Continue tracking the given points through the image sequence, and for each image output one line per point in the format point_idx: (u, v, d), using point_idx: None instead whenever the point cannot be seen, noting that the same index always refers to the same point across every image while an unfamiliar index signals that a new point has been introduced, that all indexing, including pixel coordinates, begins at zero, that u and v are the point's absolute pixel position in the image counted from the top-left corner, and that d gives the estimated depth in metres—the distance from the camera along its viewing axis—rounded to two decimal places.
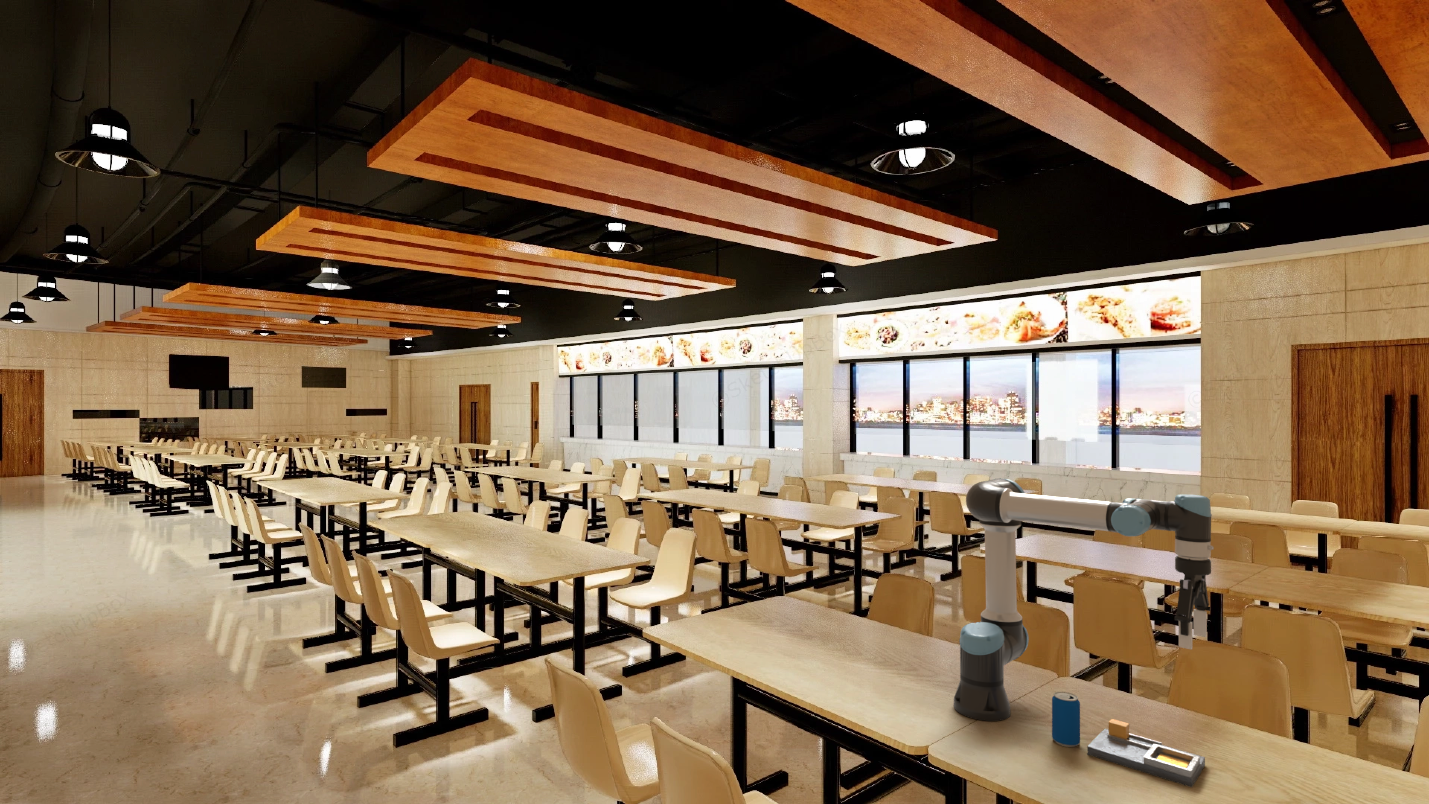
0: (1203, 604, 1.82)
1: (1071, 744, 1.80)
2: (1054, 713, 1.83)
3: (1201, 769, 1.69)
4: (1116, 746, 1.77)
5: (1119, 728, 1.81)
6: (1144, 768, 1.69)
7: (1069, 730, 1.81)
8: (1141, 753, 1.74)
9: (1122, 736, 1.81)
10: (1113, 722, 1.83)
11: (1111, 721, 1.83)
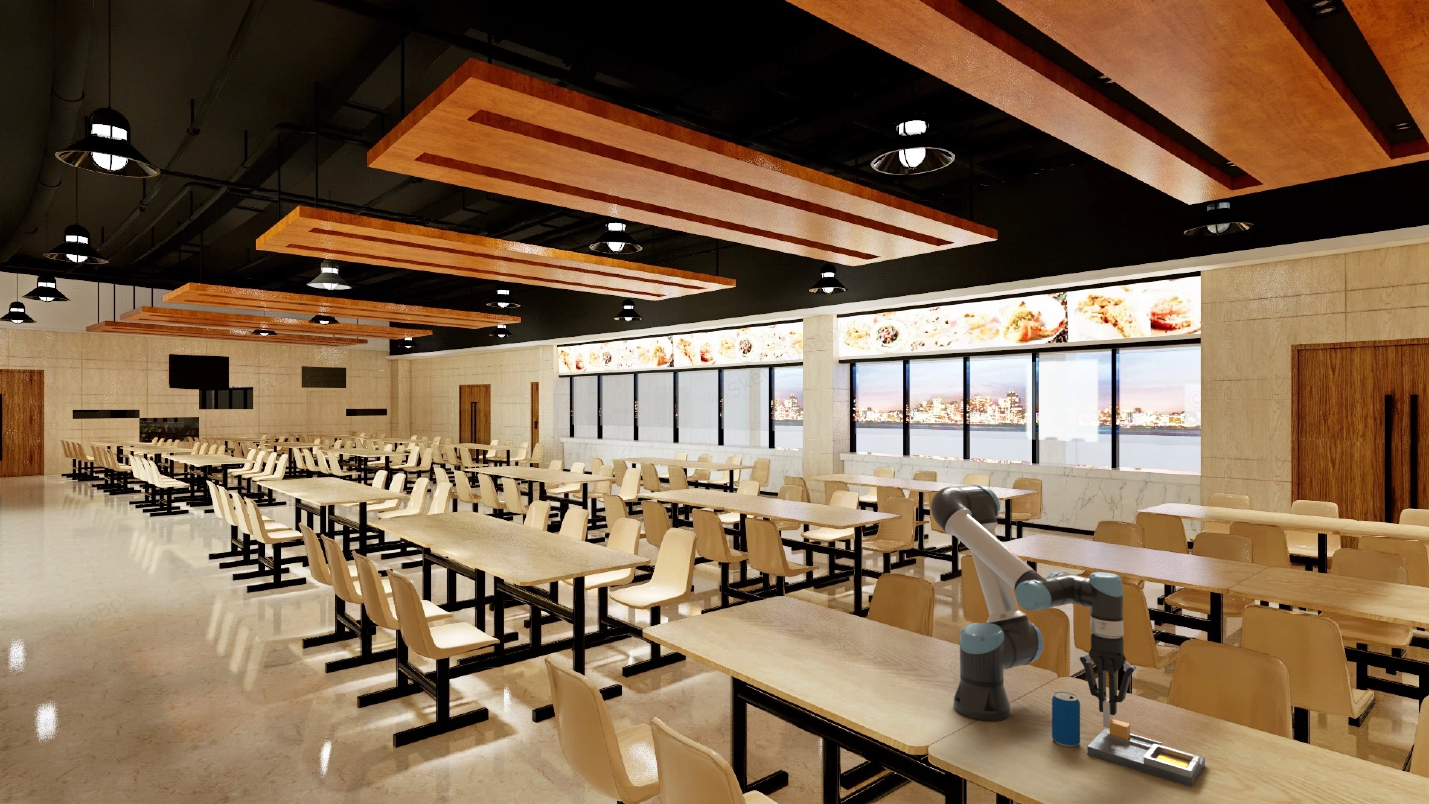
0: None
1: (1071, 744, 1.80)
2: (1054, 713, 1.83)
3: (1201, 769, 1.69)
4: (1116, 746, 1.77)
5: (1120, 728, 1.81)
6: (1144, 768, 1.69)
7: (1069, 730, 1.81)
8: (1141, 753, 1.74)
9: (1123, 736, 1.81)
10: (1115, 723, 1.82)
11: (1112, 721, 1.83)
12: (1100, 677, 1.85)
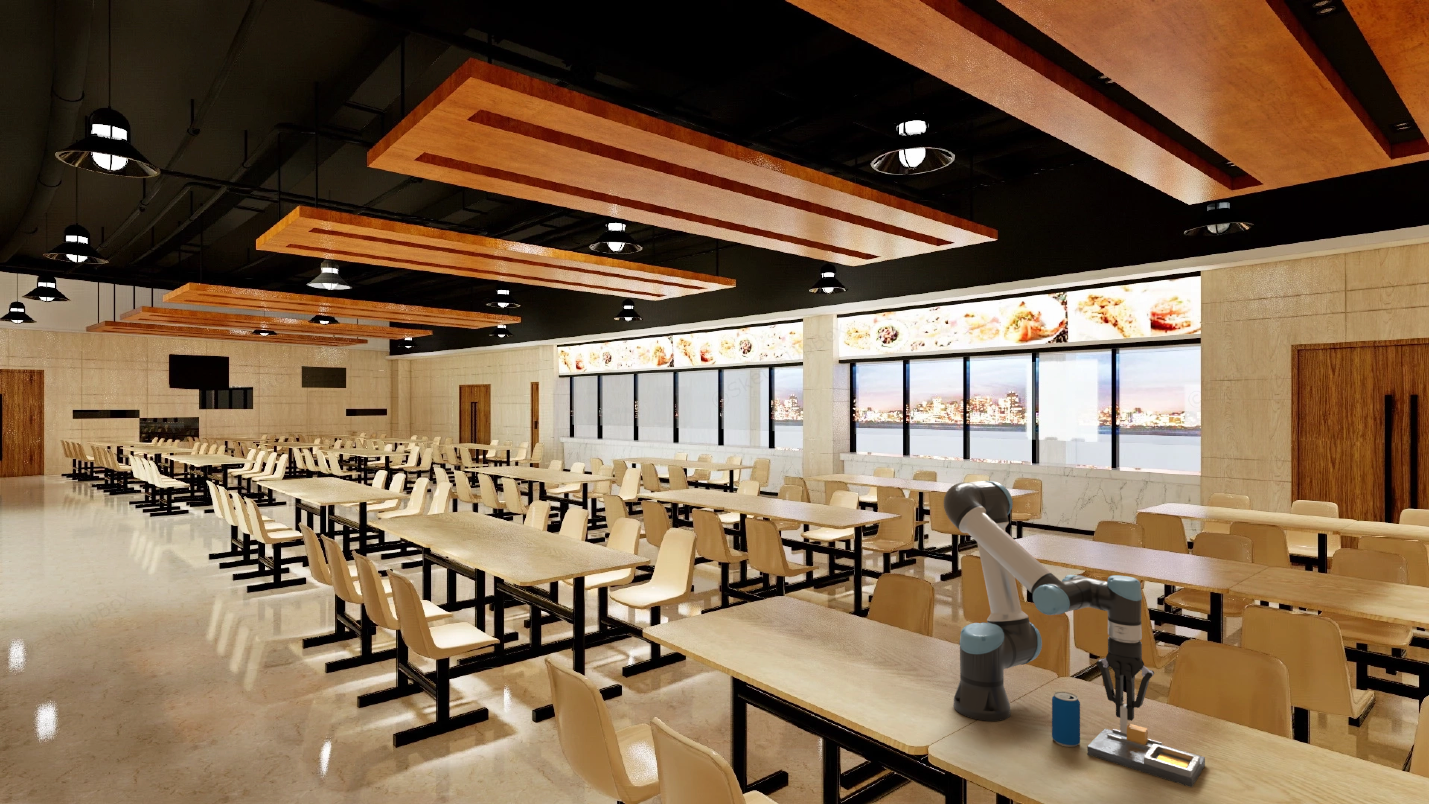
0: None
1: (1071, 744, 1.80)
2: (1054, 713, 1.83)
3: (1201, 769, 1.69)
4: (1116, 746, 1.77)
5: (1138, 733, 1.78)
6: (1144, 768, 1.69)
7: (1069, 730, 1.81)
8: (1141, 753, 1.74)
9: (1141, 741, 1.78)
10: (1132, 728, 1.80)
11: (1129, 726, 1.81)
12: (1117, 682, 1.82)
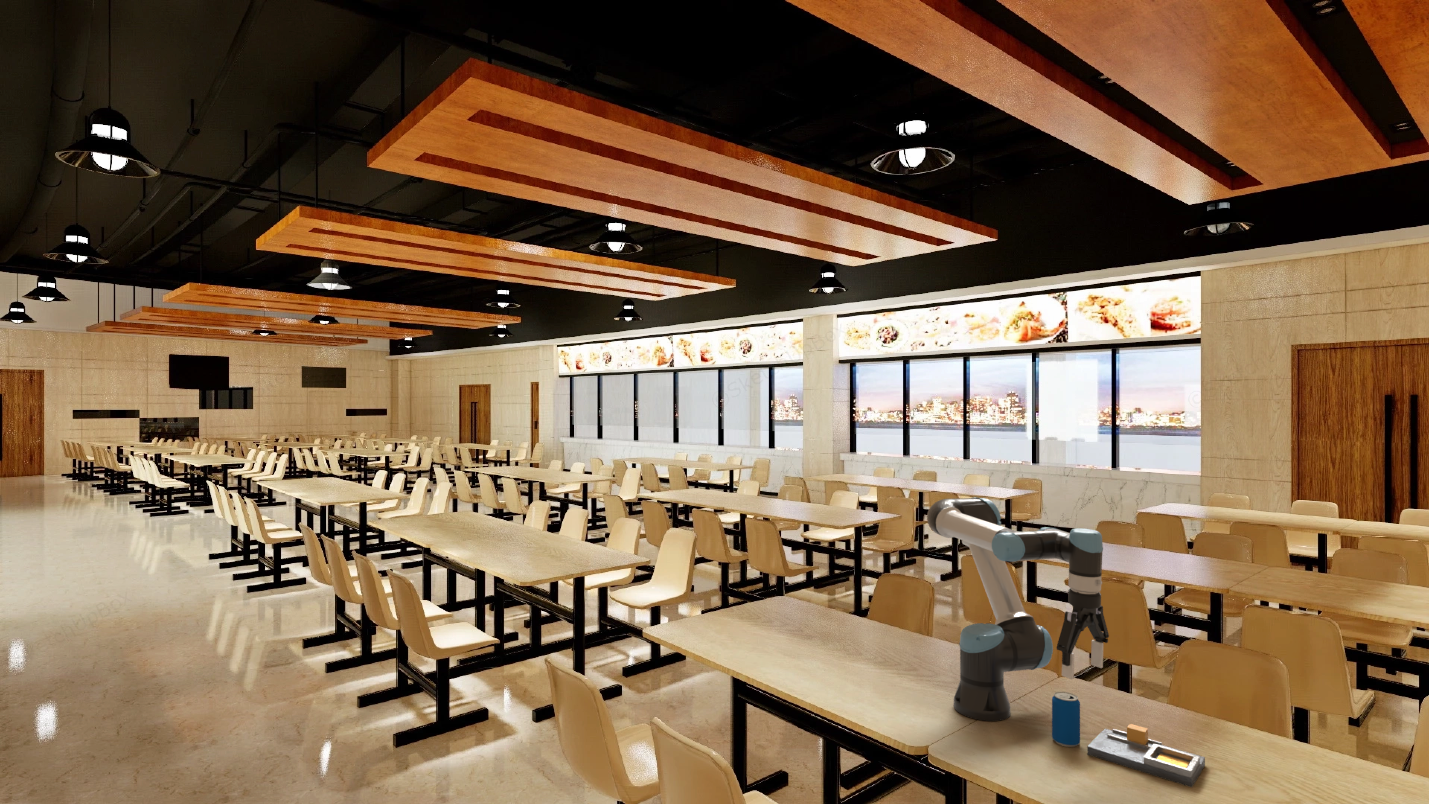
0: (1099, 636, 1.86)
1: (1071, 744, 1.80)
2: (1054, 713, 1.83)
3: (1201, 769, 1.69)
4: (1116, 746, 1.77)
5: (1138, 733, 1.78)
6: (1144, 768, 1.69)
7: (1069, 730, 1.81)
8: (1141, 753, 1.74)
9: (1141, 741, 1.78)
10: (1132, 728, 1.80)
11: (1129, 726, 1.81)
12: (1078, 633, 1.80)
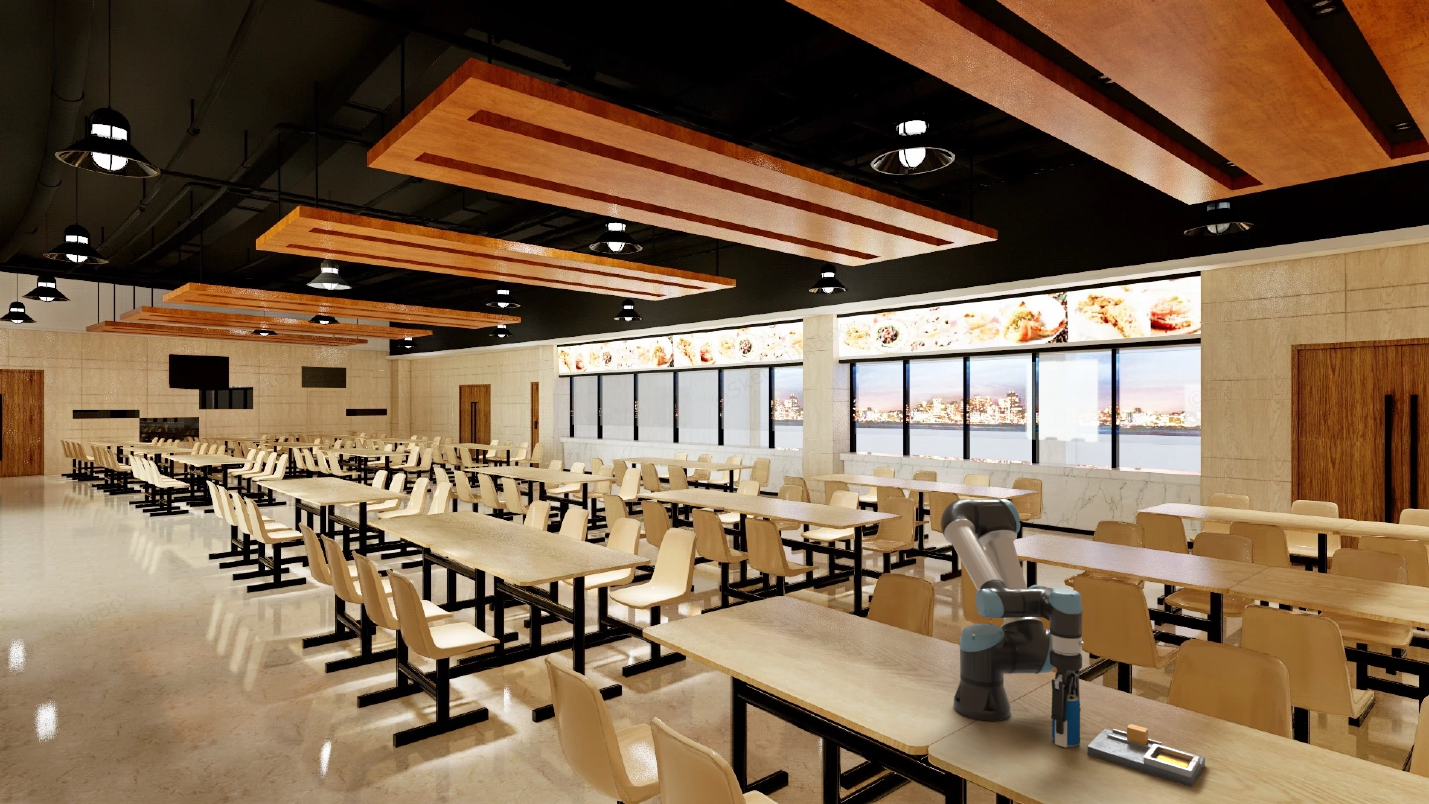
0: None
1: (1071, 744, 1.80)
2: None
3: (1201, 769, 1.69)
4: (1116, 746, 1.77)
5: (1138, 733, 1.78)
6: (1144, 768, 1.69)
7: (1069, 730, 1.81)
8: (1141, 753, 1.74)
9: (1141, 741, 1.78)
10: (1132, 728, 1.80)
11: (1129, 726, 1.81)
12: (1067, 697, 1.81)
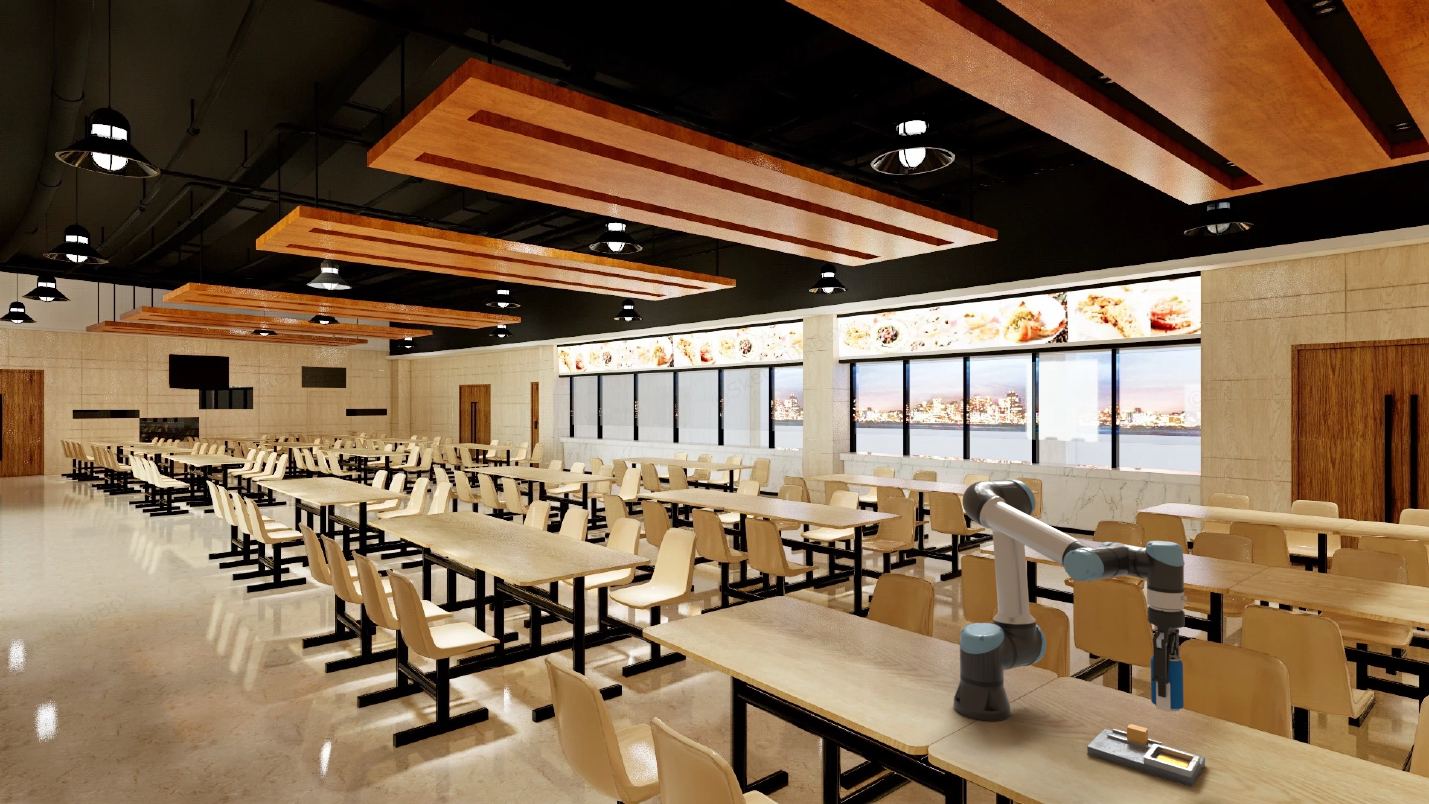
0: None
1: (1175, 708, 1.66)
2: None
3: (1201, 769, 1.69)
4: (1116, 746, 1.77)
5: (1138, 733, 1.78)
6: (1144, 768, 1.69)
7: (1172, 693, 1.66)
8: (1141, 753, 1.74)
9: (1141, 741, 1.78)
10: (1132, 728, 1.80)
11: (1129, 726, 1.81)
12: (1169, 657, 1.67)
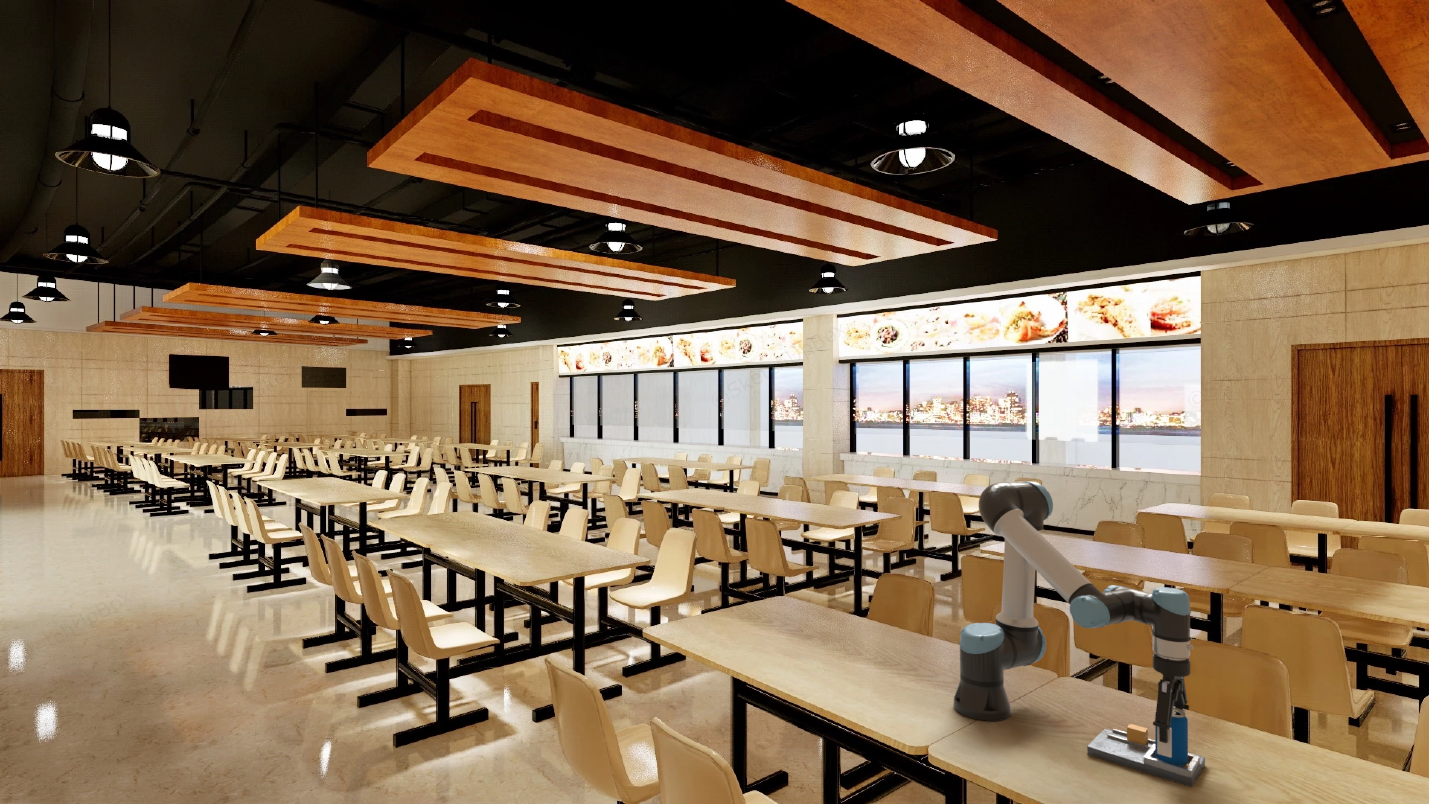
0: (1181, 703, 1.73)
1: (1179, 764, 1.66)
2: None
3: (1201, 769, 1.69)
4: (1116, 746, 1.77)
5: (1138, 733, 1.78)
6: (1144, 768, 1.69)
7: (1176, 749, 1.66)
8: (1141, 753, 1.74)
9: (1141, 741, 1.78)
10: (1132, 728, 1.80)
11: (1129, 726, 1.81)
12: (1173, 704, 1.65)
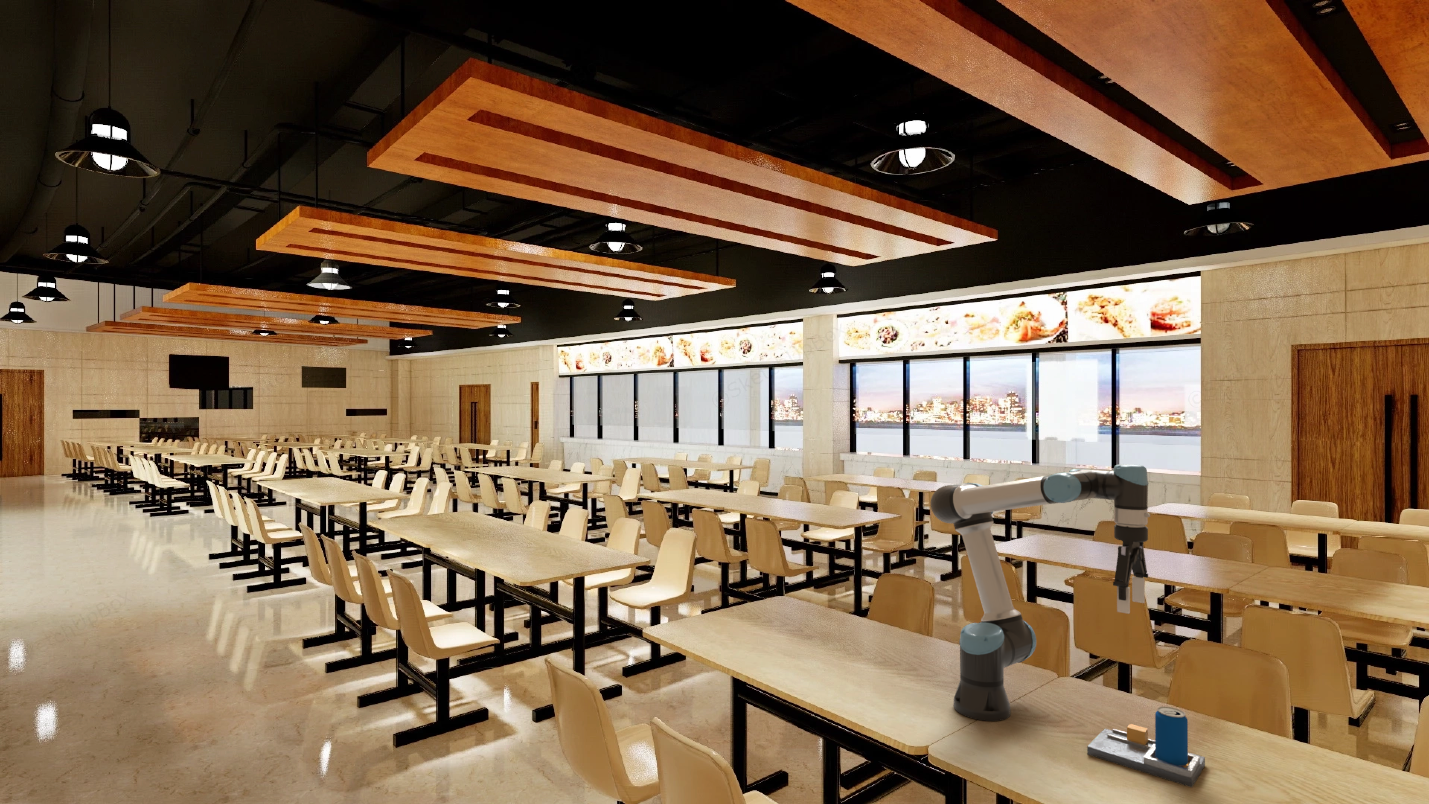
0: (1141, 571, 1.88)
1: (1179, 764, 1.66)
2: (1159, 730, 1.69)
3: (1201, 769, 1.69)
4: (1116, 746, 1.77)
5: (1138, 733, 1.78)
6: (1144, 768, 1.69)
7: (1176, 749, 1.66)
8: (1141, 753, 1.74)
9: (1141, 741, 1.78)
10: (1132, 728, 1.80)
11: (1129, 726, 1.81)
12: (1131, 567, 1.80)
